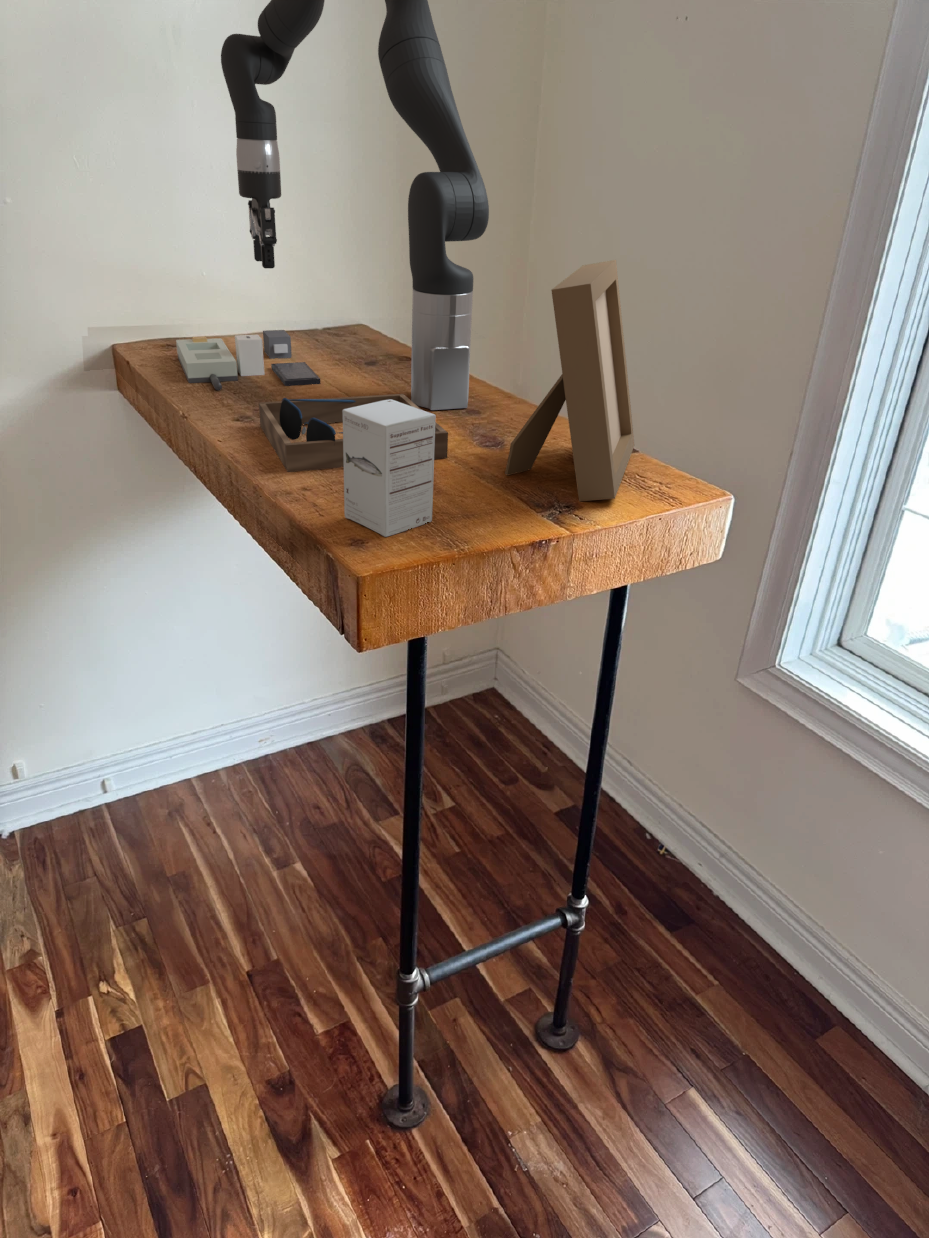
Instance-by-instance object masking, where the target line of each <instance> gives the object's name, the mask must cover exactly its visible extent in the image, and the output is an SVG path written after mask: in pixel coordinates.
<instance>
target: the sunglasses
mask: <svg viewBox="0 0 929 1238" xmlns="http://www.w3.org/2000/svg"><path fill="white" fill-rule="evenodd" d="M281 401H282V403H281V407H280V425H281V428H282V430H283V431H284V433H285V434H286V436H287V437H288V439H289V440H292V441H294V440H298V439H299V438H300V436H301V435H305V434H306V435H305V438H306V440H305V442H309V441H322V440H332V441H335V439H336V435H337V432H336V429H335V428H334V427H333V426H332V425H330V424H329V423H328V424H327V423H325V422H323V421H321V420H319V419H316V418H311V419H310V420H309V422H308V423H307V422H305V423H304V425H302V420H301V419H302V414H301V411H300V409H299V408H298V407H297V406H296V405H294V404H293V403H292V402H291V401H310V402H356V401H354V400H336V399H326V398H290V399H288V398H287V397H283V398H282V399H281ZM312 419H313V420H312ZM306 423H307V424H308V425H305V424H306ZM302 426H303V427H302ZM338 434H342V435H343V431H341V432H338ZM334 445H335V444H334Z"/></svg>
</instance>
